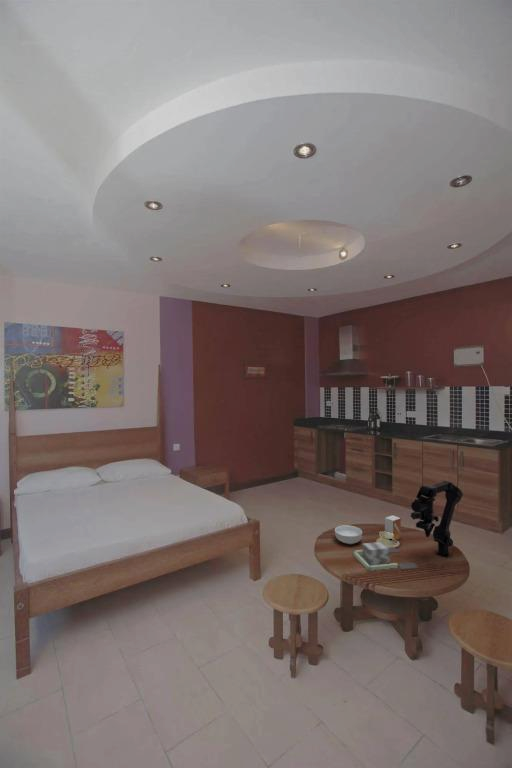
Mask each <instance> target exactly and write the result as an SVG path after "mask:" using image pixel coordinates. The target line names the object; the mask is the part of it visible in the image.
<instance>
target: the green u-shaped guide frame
mask: <svg viewBox="0 0 512 768" xmlns="http://www.w3.org/2000/svg"><path fill="white" fill-rule="evenodd" d="M389 548H390V554H395V553H400V550H399V549H397V548H395V547H389ZM352 555H353V556H354V557H355V558H356V560H358V562H359V563H360V564H361V565H363V567H364V568H365V569H366V570H367V571H368V572H373V571H374V570H376V571H382V570H381V569H385V570H391V569H390V568H394V569H400V568H401V570H402V569H405V570H413V569H419V568H420V567H419V566H418V565H417V564H416V563H414V562H405V563H397V562H393V563H392V562H391V563H389V564H379V565H369V564H368V563H367V562H366V561H365V560H364V559H363V549H357V550H352ZM398 566H399V567H400V568H399V567H398ZM374 572H375V571H374Z"/></svg>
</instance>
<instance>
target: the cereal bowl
mask: <svg viewBox="0 0 512 768" xmlns="http://www.w3.org/2000/svg"><path fill="white" fill-rule="evenodd" d="M334 535H335V538H336V539H337V540H338V541H340V542H341V543H343V544H346V545H353V544H356V543H359V542H360V541H361V540H362V538H363V531H362V528H360V527H358V526H353V525H347V524H344V525H338V526H337V527H335V529H334Z"/></svg>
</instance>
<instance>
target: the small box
mask: <svg viewBox="0 0 512 768" xmlns="http://www.w3.org/2000/svg"><path fill="white" fill-rule="evenodd" d="M401 529H402V520H401V517H398V516H396V515H393V514H392V515H390V516H389V515H388V516H387V517H385V518H384V533H385V532H390V533H393V534H394V537H395V539H396V540H395V541H397V540H400V539H402V537H401V536H402V535H401V533H402V530H401Z"/></svg>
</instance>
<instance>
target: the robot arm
mask: <svg viewBox="0 0 512 768" xmlns="http://www.w3.org/2000/svg"><path fill="white" fill-rule="evenodd" d="M443 492H445V494H444V496H445V505H444V509H443V511H442V512H443V513H442V515H441V519H440V518H439V517H438V515H435V510H434V501H436V499H435V497H437V494H439V493H443ZM463 496H464V495H463V491H462V489H460V488H459V487H457V486H456V485H454V483H452V482H451V481H446V480H443V481H442V482H439V483H435V484H433V485H421V487H420V488H419V490H418V493H417V494H416V498H414V501H413V502H412V503H411V506H410V507H411V510H412V512H411V513H410V517H411V518H412V520H418V521H417V522H416V523H415V528H417V529H422V530H423V531H424V534H425V537H426V538H429V537H430V535H431V533H432V531H433V533H432V537H433V541H434V542H435V543H437V551H436V552H435V554H437V555H440V556H442V557H446V558H449V557H450V556H451V555H452V552H450V547H453V544H454V540H453V539H452V538H451V530H450V525H451V523H452V519H453V515H454V512H455V509H456V505H457V504H458V503H459V502H460V501H461V500H462V498H463ZM439 519H440V522H439ZM434 521H435V522H436V523H438V522H439V524H438V525H436V524H435V523H434ZM433 529H434V530H433Z"/></svg>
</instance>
